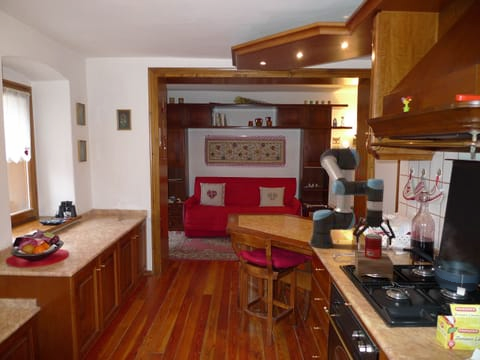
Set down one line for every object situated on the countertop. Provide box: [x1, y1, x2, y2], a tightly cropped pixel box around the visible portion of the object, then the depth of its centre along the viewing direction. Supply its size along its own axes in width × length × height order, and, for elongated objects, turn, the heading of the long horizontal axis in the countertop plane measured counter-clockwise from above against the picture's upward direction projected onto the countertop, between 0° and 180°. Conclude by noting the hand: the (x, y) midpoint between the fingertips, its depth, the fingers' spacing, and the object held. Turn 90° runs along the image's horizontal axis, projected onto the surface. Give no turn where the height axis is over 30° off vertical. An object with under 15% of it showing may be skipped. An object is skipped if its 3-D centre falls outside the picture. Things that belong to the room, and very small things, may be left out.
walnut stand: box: [354, 250, 394, 280], centre depth 164 cm, size 16×16×8 cm
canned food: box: [364, 233, 383, 259], centre depth 163 cm, size 8×8×11 cm
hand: (373, 250), depth 163 cm, fingers open, 13 cm apart
